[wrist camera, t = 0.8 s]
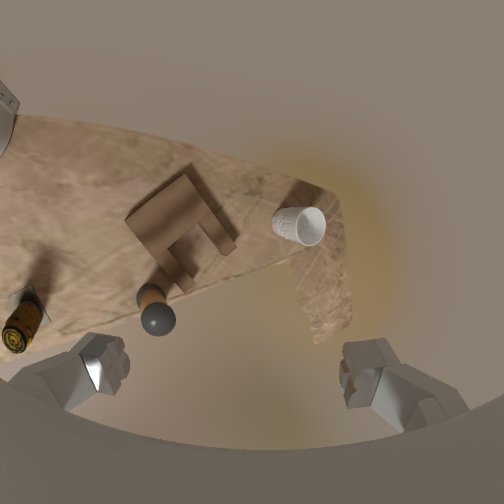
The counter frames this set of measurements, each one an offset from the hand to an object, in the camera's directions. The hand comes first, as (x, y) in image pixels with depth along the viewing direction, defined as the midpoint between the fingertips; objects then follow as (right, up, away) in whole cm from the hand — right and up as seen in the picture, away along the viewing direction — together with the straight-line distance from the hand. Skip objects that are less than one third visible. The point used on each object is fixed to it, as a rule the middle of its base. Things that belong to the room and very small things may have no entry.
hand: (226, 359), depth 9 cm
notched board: (-13, +7, +43) cm, 45 cm away
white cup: (+8, +11, +54) cm, 55 cm away
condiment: (-44, -8, +30) cm, 53 cm away
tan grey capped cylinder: (-19, -5, +42) cm, 47 cm away
